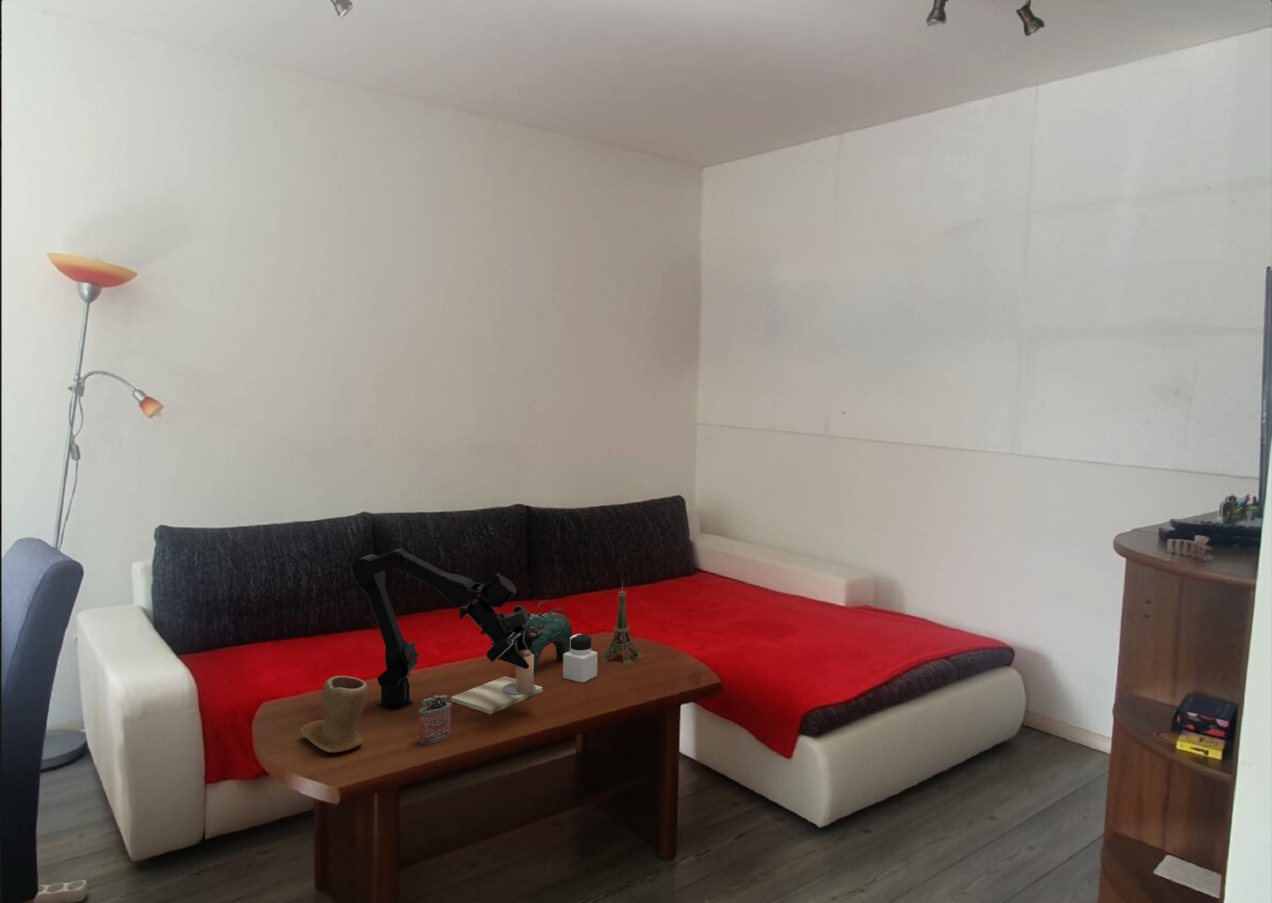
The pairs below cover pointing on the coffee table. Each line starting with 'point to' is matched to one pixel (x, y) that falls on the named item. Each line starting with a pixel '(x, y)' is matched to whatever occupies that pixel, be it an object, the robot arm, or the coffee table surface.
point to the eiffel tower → (622, 631)
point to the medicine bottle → (580, 659)
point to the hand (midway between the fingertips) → (530, 664)
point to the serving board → (493, 695)
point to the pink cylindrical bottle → (525, 673)
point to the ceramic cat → (547, 633)
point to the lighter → (435, 719)
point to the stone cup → (339, 715)
